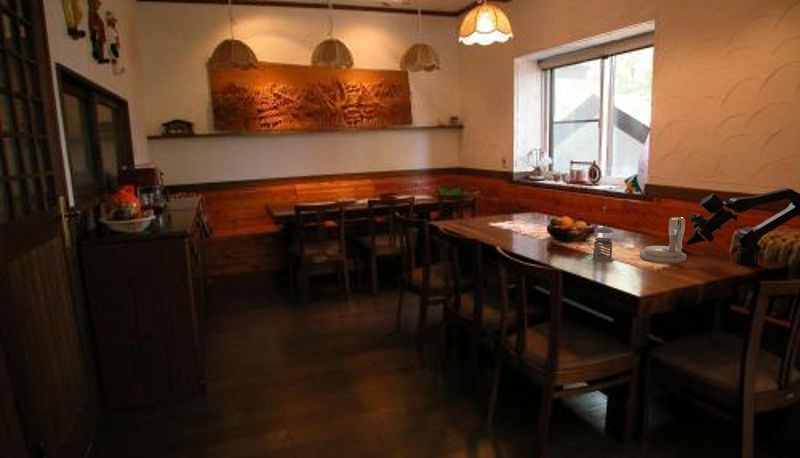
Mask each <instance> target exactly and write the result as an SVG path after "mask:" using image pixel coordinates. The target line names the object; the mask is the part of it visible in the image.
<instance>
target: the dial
mask: <svg viewBox="0 0 800 458" xmlns="http://www.w3.org/2000/svg"><path fill="white" fill-rule="evenodd" d="M668 242H669V244H668V246H667V245H648V246H645V247H644V250H645V252H644V253H645V254H647V255H650V256H656V257H679V256H681V253H683V251H682V249H679V248H675V245H676V235H675V234H670V237H669V241H668Z"/></svg>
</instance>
